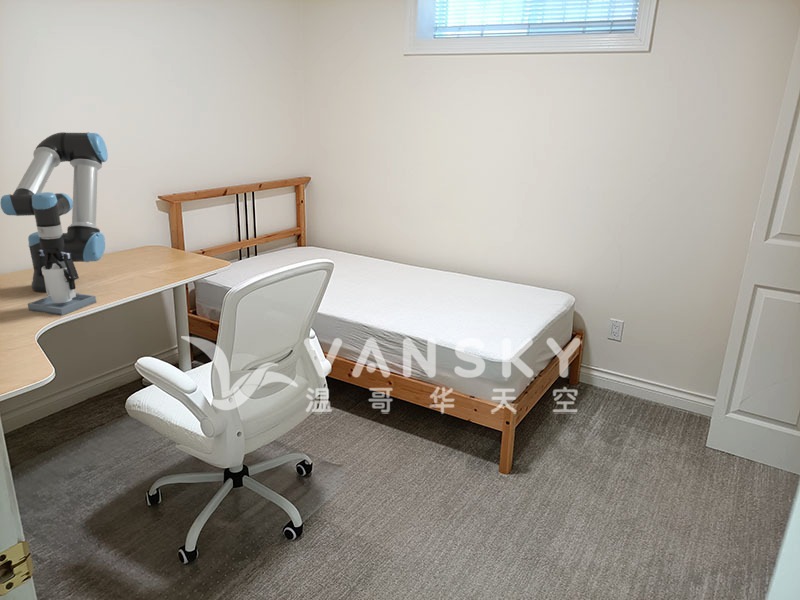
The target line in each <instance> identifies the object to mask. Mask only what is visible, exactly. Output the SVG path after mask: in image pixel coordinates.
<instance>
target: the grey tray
mask: <svg viewBox="0 0 800 600" xmlns="http://www.w3.org/2000/svg"><path fill="white" fill-rule="evenodd" d="M75 293H76V297H74V298H72V300H70V301H68V302H64V303H54V302H53V301H52V299H51V296H50V295H49V296H45V297H43V298H39V299H37V300H34V301H32V302H29V303H27V308H28V311H30V312H35V313H36V312H37V313H41V314H49V315H56V316H60V317H63V316H66V315H68V314H71V313H73V312H76V311H78V310H81V309H83V308H86V307H89V306H91V305H94V304H96V303H97V297H96V295H90V294H84V293H77V292H75Z"/></svg>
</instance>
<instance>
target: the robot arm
mask: <svg viewBox="0 0 800 600" xmlns="http://www.w3.org/2000/svg"><path fill="white" fill-rule="evenodd" d="M108 155H109V154H108V149H107V146H106V142H105V140H104V138H103V137H102V135H100V133H96V132H63V131H62V132H61V131H60V132H57V133H54V134H51V135H49V136H47V137H46V138H45V139H43V140H41V141H40V143H39V144H38V145H37V146H36V147H35V149H34V151H33V159H32V161H31V162H30V164H29V166H28V167H27V169H26V171H25V173H24V174H23V177H22V178H21V180H20V182H19V184H18V185H17V187H16V189H15V190H14V192H13V194H9V193H8V194H4V195H2V196H1V198H0V209H1V211H2V213H4V214H5V215H6V216H14V217H15V216H16V217H20V216H24V217H25V216H28V217H29V216H34V219H35V223H36V229H37V231H36V232H33V233H31V234H29V235H28V237H27V238H28V247H29V252H30V258H31V262H32V268H33V273H32V274H33V275H32V281H31V289H32V291H34V292H38V293H46V295H47V296H46V297H48V296H50V293H49V290H48V287H47V284H46V281H45V279H44V276H43V275H42V270H41V268H42V267H43V266H45V267H46V269H51V268H52V265H53V264H55V263H56V264H57V265H58V266H59V267H60V269H61V268H66V267H67V269H63V270H64V276H65V277H66V279H67V281H66V287H67V292H68V298H69V299H71V298H74V297H76V293H77V292H76V282H75V281H76V280H79V279H80V277H79V274H78V272H77V269H76V266H75V263H78V262H79V263H80V262H84V263H90V262H97V261H100V260H101V259H102V257H103V255H104V253H105V250H106V238H105V235H104V234H103V233H101V232H100V231H101V230H100V228H99V227H98V226H97V205H98V204H97V203H98V201H97V199H98V171H99V170H101V168H102V167H103V166H102V165H103V163H105V162H107V161H108V158H109V157H108ZM63 162H69V164H70V166H72V168H73V182H72V183H73V184H72V185H73V186H72V198H71V196H70V195H69V194H67V193H63V192H62V193H61V192H59V193H53V192H50V191H49V192H43V189H44V187H45V186H46V184H47V182H48V180H49V178H50V177H51V174H52V173H53V171H54V169H55V168H56V167H58V166H60V163H63ZM70 211H72V213H71V216H72V217H71V223H70V224H69V225H68V226H67V229H66V231H67V232H63V229H62V228H63V227H62V223H61V216H64V215H66V214H68V213H69V212H70Z"/></svg>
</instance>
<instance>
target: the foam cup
mask: <svg viewBox="0 0 800 600" xmlns="http://www.w3.org/2000/svg"><path fill="white" fill-rule="evenodd" d="M63 269H67V267H66V268H61V269H60V267H59V266H58V265H57V264H56V263H55V264H53V265H52V268H51V269H46V267H45V266H43V267H42V268H41V270H42V275H43V276H44V279H45V281H46V284H47V287H48V290H49V293H50V295H49V296H51V299H52V301H53V302H54V303H64V302H68V301H70V300H72V298H71V299H69V298H68V292H67V287H66V281H67V279H66V277H65V276H64V270H63Z"/></svg>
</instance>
